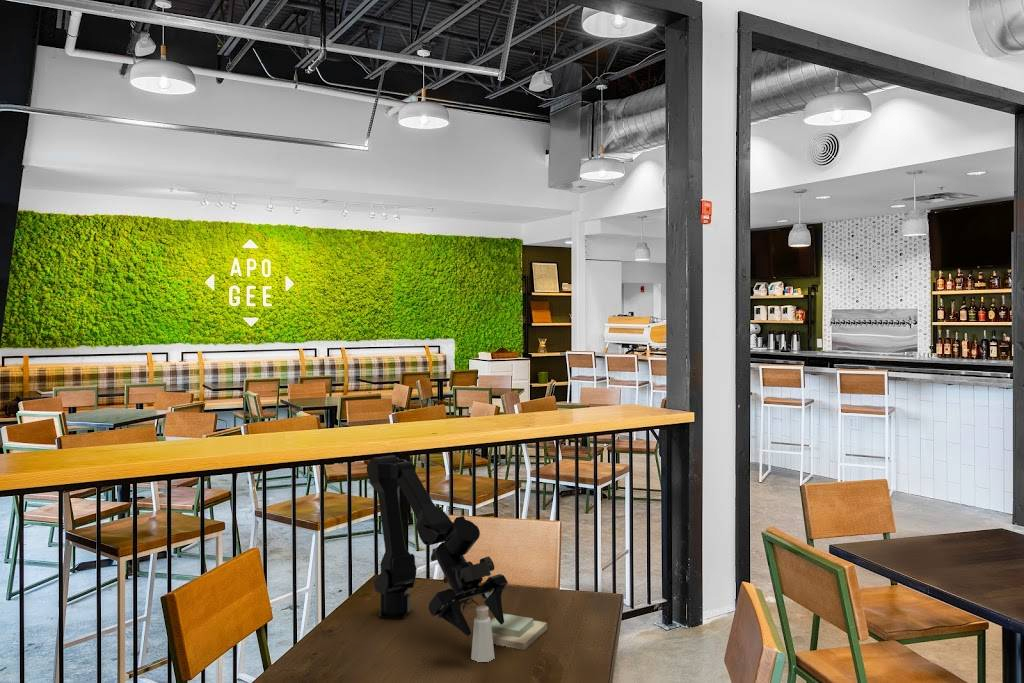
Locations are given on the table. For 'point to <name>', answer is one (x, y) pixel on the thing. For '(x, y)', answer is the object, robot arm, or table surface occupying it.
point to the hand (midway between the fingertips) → (486, 629)
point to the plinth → (523, 638)
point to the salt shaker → (482, 636)
